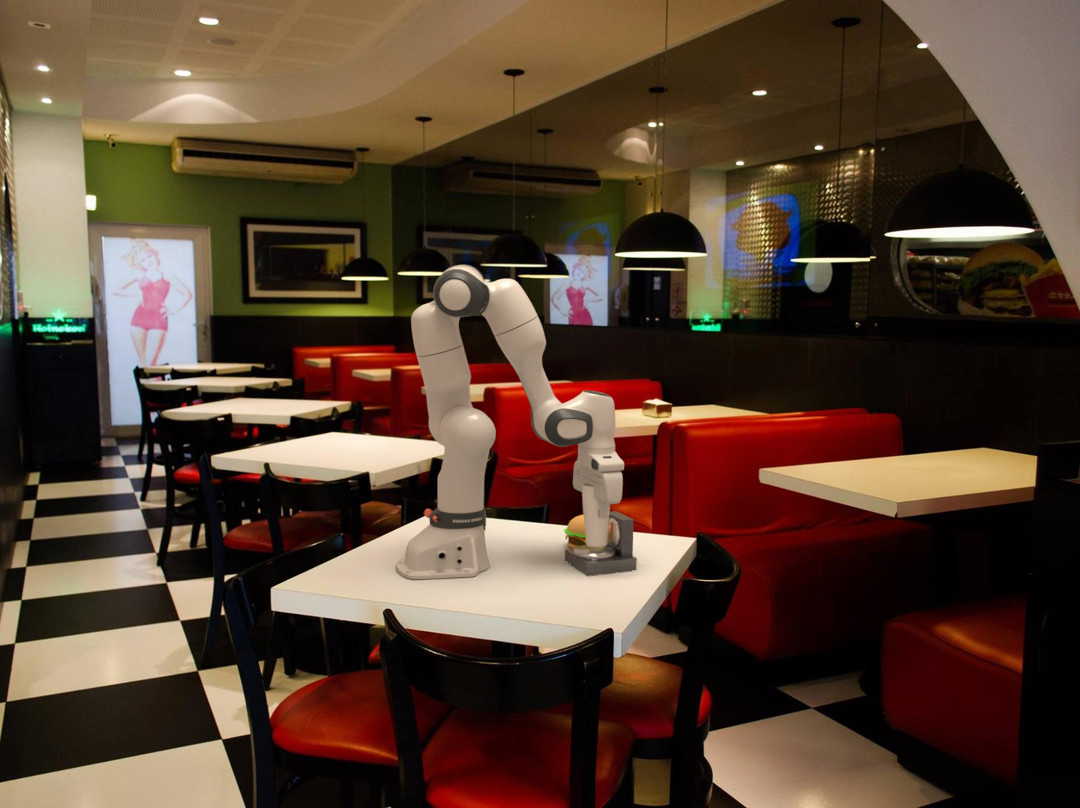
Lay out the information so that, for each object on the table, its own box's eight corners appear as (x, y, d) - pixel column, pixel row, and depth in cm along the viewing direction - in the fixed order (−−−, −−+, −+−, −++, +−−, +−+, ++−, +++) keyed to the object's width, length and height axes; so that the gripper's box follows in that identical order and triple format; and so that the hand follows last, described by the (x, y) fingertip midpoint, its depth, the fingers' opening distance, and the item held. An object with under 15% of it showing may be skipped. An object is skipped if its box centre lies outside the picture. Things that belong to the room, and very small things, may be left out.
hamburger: (619, 547, 223) (619, 515, 222) (589, 556, 214) (590, 523, 213) (584, 539, 231) (584, 508, 230) (554, 547, 222) (555, 515, 221)
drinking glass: (579, 548, 203) (579, 486, 201) (586, 541, 209) (585, 481, 208) (607, 549, 201) (606, 487, 199) (613, 543, 207) (613, 482, 206)
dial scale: (587, 576, 198) (588, 525, 196) (564, 560, 210) (565, 513, 208) (636, 570, 202) (637, 521, 201) (611, 556, 214) (612, 509, 213)
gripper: (567, 452, 211) (566, 506, 213) (603, 465, 192) (602, 525, 194) (589, 450, 214) (589, 504, 215) (627, 464, 195) (626, 523, 196)
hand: (595, 514), depth 204 cm, fingers closed on drinking glass, 6 cm apart
